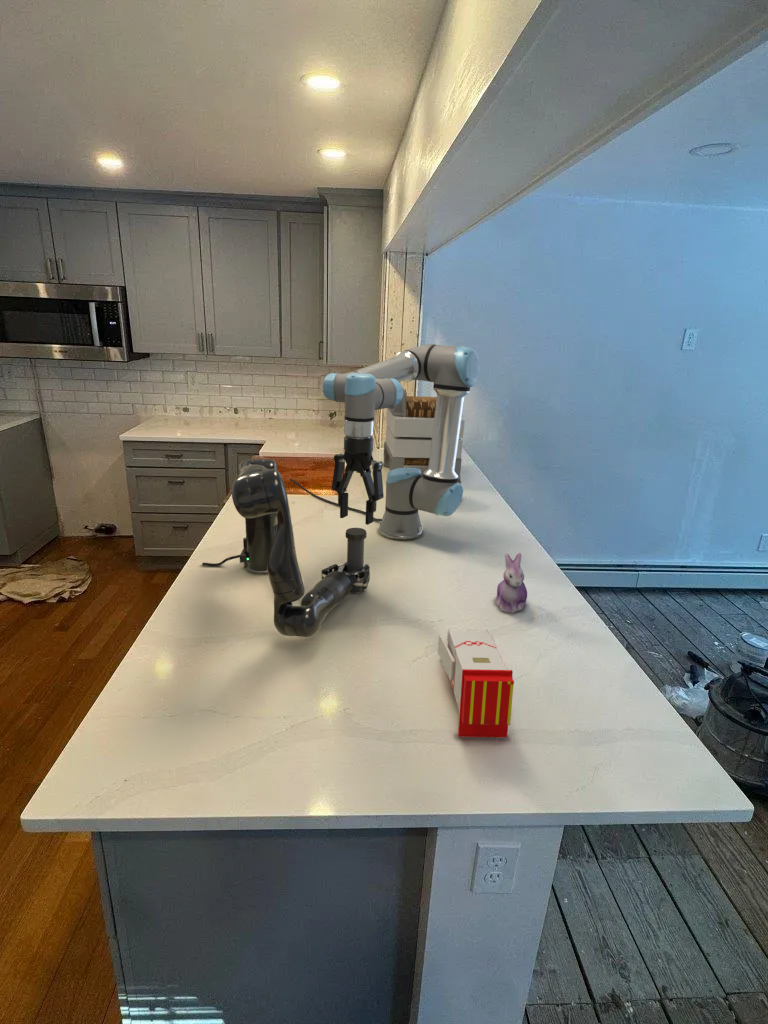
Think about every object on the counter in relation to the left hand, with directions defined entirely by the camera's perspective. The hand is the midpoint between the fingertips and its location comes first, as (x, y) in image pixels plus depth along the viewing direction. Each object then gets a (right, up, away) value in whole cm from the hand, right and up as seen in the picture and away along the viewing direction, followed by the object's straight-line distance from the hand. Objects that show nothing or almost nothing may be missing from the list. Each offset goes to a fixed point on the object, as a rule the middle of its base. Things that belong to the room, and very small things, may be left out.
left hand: (359, 565), depth 160 cm
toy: (+25, -22, -41) cm, 53 cm away
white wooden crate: (+24, +34, +115) cm, 123 cm away
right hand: (0, +13, -7) cm, 15 cm away
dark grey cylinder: (-1, -7, 0) cm, 7 cm away
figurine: (+42, -10, -5) cm, 43 cm away
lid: (-1, +10, -6) cm, 11 cm away
